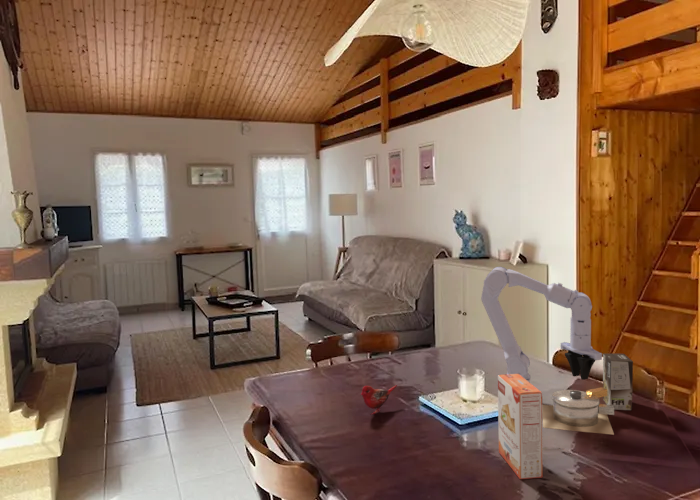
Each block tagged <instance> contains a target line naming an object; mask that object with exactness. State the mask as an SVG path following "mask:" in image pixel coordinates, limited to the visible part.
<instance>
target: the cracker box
mask: <svg viewBox="0 0 700 500" xmlns="http://www.w3.org/2000/svg"><path fill="white" fill-rule="evenodd" d="M542 405H543V392H542V391H541V390H540V389H538V388H537V387H536V386H535V385H533V384H532V383H531V382H530V383H529V382H528V381H527V380H526V379H524V378H523V377H522V376H521V375H519V374H507V373H505V374H498V375H497V409H498V411H497V412H498V413H497V414H498V417H497V419H498V421H497V422H498V423H497V424H498V453H499V454H500V456H501V458H502V459H504V461H505V462H506V463H507V464H508V466H509V467H510V468H511V471H513V472H514V474H515V475H516V476H517V477H518V479H519V480H528V479H541V478H543V476H544V475H543V471H544V470H543V461H544V460H543V416H542Z"/></svg>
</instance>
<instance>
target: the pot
mask: <svg viewBox="0 0 700 500" xmlns="http://www.w3.org/2000/svg"><path fill="white" fill-rule="evenodd" d="M552 401H553V400H552ZM552 406H553V417H554V419H555V420H557V421H558V422H560V423H563V424H566V425H570V426H576V427H589V426H594V425H596V424H597V423H598V413H599V414H607V416H608V415H610V416H615V410H614V406H613V405H607V404H606V403H605V404H604V403H603V404H602V403H600V404H599V406H597V407H595V408H590V409H576V408H569V407H565V406H562V405H559V404H557V403H555V402H554V401H553V404H552Z"/></svg>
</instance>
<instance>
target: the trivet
mask: <svg viewBox="0 0 700 500" xmlns="http://www.w3.org/2000/svg"><path fill="white" fill-rule="evenodd" d="M543 428H544V429H552V430H553V429H554V430H564V431H572V432H573V431H574V432H581V433H582V432H583V433H594V434H603V435H613V436H614V435H615V433H614V430H613V428H612V424H611V422H610V419H609V416H608V414H599V413H598V423H597V424H596V425H594V426H589V427H576V426H570V425H566V424H563V423H560V422H558V421H557V420H555V419H554V417H553V404H550V405H549V404H542V429H543Z"/></svg>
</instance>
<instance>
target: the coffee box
mask: <svg viewBox="0 0 700 500" xmlns="http://www.w3.org/2000/svg"><path fill="white" fill-rule="evenodd" d="M602 359H603V360H602V388H605V389H607V396H605V397H602V400H603V401H604V403H605V404H606V405H613V406H614V411H617V410H619V411H632V410H633V382H634V381H633V380H634V379H633V375H634V373H633V372H634V371H633V370H634V361H633V360H632V359H630V358H629V357H628V356H627V355H626V354H625V353H602Z"/></svg>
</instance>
